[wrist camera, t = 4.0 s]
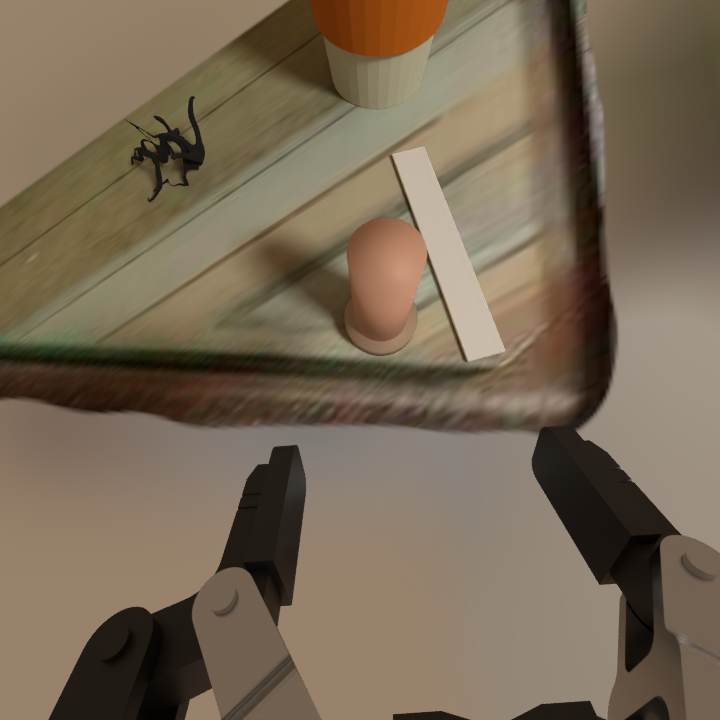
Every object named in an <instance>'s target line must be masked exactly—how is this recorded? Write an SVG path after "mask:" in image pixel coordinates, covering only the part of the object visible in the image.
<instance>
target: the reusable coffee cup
mask: <svg viewBox="0 0 720 720" xmlns="http://www.w3.org/2000/svg"><path fill="white" fill-rule="evenodd" d="M310 3H311V7H312V11H313V16H314V19H315V22H316V25H317V27H318V29H319V30H320V32H321V33H322V35H323V38H324V43H325V47H326V52H327V56H328V61H329V65H330V70H331V75H332V79H333V83H334V86H335V88H336V90H337V91H338V93H339V94H340V95H341V96H342V97H343V98H344V99H345V100H347V101H348V102H350V103H352V104H354V105H356V106H359V107H363V108H367V109H386V108H390V107H394V106H397V105H399V104H401V103H403V102H405V101H406V100H408V99H409V98H411V97H412V96H413V95H414V94H415V93H416V91H417V90H418V88H419V87H420V84H421V81H422V78H423V74H424V71H425V67H426V63H427V59H428V56H429V52H430V48H431V44H432V40H433V37H434V34H435V33H436V31H437V30H438V28H439V27H440V25H441V23H442V20H443V18H444V15H445V11H446V7H447V4H448V0H310Z"/></svg>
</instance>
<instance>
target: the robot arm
mask: <svg viewBox="0 0 720 720" xmlns="http://www.w3.org/2000/svg"><path fill="white" fill-rule="evenodd" d="M532 469H533V472H534V475H535V477H536V479H537V481H538V482H539V484H540V486H541V488H542V489H543V491H544V493H545V494H546V496H547V498H548V499H549V501H550V502H551V504H552V506H553V508H554V509H555V511H556V513H557V514H558V516H559V518H560V519H561V521H562V523H563V524H564V526H565V528H566V529H567V531H568V533H569V534H570V536H571V538H572V539H573V541H574V543H575V544H576V546H577V548H578V549H579V551H580V553H581V555H582V556H583V558H584V560H585V561H586V563H587V565H588V566H589V568H590V569H591V571H592V573H593V575H594V576H595V578H596V580H597V581H598V583H599V584H600V585H602V584H603V585H604V584H617V585H618V586H619V588H620V590H621V591H622V595H621V597H620V609H619V636H618V637H619V639H618V665H617V676H616V681H615V684H614V687H613V689H612V692H611V696H610V700H609V707H608V720H720V553H719V552H717V551H716V550H714V549H713V548H711V547H710V546H708V545H706V544H704V543H703V542H700V541H698V540H696V539H693V538H690V537H686V536H682V535H681V534H680V533H679V532H678V531H677V530H676V529H675V528H674V526H673V525H672V524H671V523H670V522H669V521H668V520H667V519H666V518H665V516H664V515H663V514H662V513H661V512H660V511H659V510H658V509H657V507H656V506H655V505H654V504H653V503H652V502H651V501H650V500H649V499H648V497H647V496H646V495H645V494H644V493H643V492H642V491H641V490H640V488H639V487H638V486H637V485H636V484H635V483H634V482H632V481H631V478H630V477H628V475H627V474H626V473H625V472H624V471H623V470H621V469H620V466H619V465H618V464H617V463H616V462H615V461H614V459H613V458H611V456H610V455H609V454H608V453H607V452H606V451H604V450H603V449H601V448H600V447H598V446H597V445H595V444H594V443H593V442H591V441H589V440H588V441H584V440H583V439H582V438H581V437H580V435H579V434H578V433H577V432H576V431H575V430H574V429H573V428H572V427H571V426H569V425H563V426H550V427H543V428H542V429H541V431H540V434H539V437H538V440H537V444H536V447H535V450H534V454H533V457H532ZM305 495H306V478H305V473H304V469H303V465H302V460H301V456H300V453H299V449H298V446H297V445H291V446H278V447H274V448H273V450H272V453H271V457H270V461H269V464H261V465H257V467H256V468H255V469H254V471H253V472H252V473H251V475H250V476H249V477H248V478H247V481H246V484H245V487H244V490H243V494H242V498H241V500H240V503H239V506H238V511H237V513H236V516H235V519H234V522H233V525H232V528H231V531H230V534H229V538H228V541H227V544H226V547H225V550H224V554H223V557H222V560H221V563H220V565H219V567H218V569H217V571H216V573H215V574H214V575H213V576H212V577H211V578H210V579H209V580H208V581H207V582H206V583H205V584H204V585H203V587H202V588H201V589H200V591H199V592H197V593H196V594H194V595H193V596H191V597H189V598H187V599H185V600H183V601H180V602H179V603H176V604H173V605H171V606H169V607H166V608H164V609H162V610H160V611H157V612H155V613H152V614H150V613H149V612H148V611H147V610H146V609H144V608H142V607H131V608H127V609H124V610H122V611H120V612H118V613H116V614H115V615H113V616H112V617H110V618H109V619H108V620H107V621H106V622H104V623H103V624H102V625H101V626H100V627H99V628H98V629H97V630H96V632H95V633H94V634H93V635H92V636H91V638H90V639H89V641H88V642H87V644H86V646H85V648H84V649H83V651H82V653H81V655H80V658H79V659H78V661H77V663H76V665H75V667H74V669H73V671H72V673H71V675H70V677H69V679H68V681H67V683H66V686H65V687H64V689H63V691H62V694H61V696H60V697H59V699H58V701H57V704H56V706H55V708H54V710H53V712H52V714H51V716H50V718H49V720H185V716H186V712H187V709H188V705H189V701H190V699H192V698H194V697H196V696H198V695H200V694H201V693H204V692H205V691H207V690H209V689H211V688H213V692H214V695H215V698H216V702H217V705H218V708H219V712H220V716H221V720H322V719H321V717H320V715H319V713H318V711H317V709H316V707H315V705H314V703H313V701H312V699H311V696H310V694H309V693H308V690H307V688H306V686H305V684H304V682H303V680H302V678H301V676H300V674H299V672H298V670H297V668H296V666H295V664H294V661H293V659H292V657H291V655H290V653H289V651H288V649H287V647H286V645H285V643H284V641H283V639H282V637H281V635H280V633H279V631H278V629H277V626H278V619H279V611H280V606H289V605H292V598H293V591H294V583H295V575H296V567H297V558H298V550H299V543H300V534H301V527H302V519H303V511H304V503H305ZM393 720H469V719H466V718H462V717H459V716H456V715H452V714H449V713H446V712H443V711H435V712H421V713H407V714H393ZM512 720H606V719H603V718H601V717H599V716H597V715H596V713H595V711H594V709H593V707H592V704H591V702H590V701H581V702H566V703H553V704H541V705H539V706H537V707H535V708H533V709H531V710H530V711H528V712H526V713H524V714H522V715H520V716H518V717H516V718H514V719H512Z"/></svg>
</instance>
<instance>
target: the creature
mask: <svg viewBox="0 0 720 720" xmlns="http://www.w3.org/2000/svg"><path fill="white" fill-rule="evenodd" d="M194 98H195V97H194V96H192V97H190V99H189V105H188V115H189V119H190V122H191V124H192V127H193V129H194V132H195V136H196V144H195V145H192V144H190V143H189V142H188V141H187V140H185V139H184V137H182V136H180V135H179V134H180V133H179V129H178V128H176V129H174V130H171V129H170V128H169V126H168V125H167V124H166V122H165V121H164V120H163V119H162V118H161V117H159V116H154V118H155V119H156V120H158V121H159V122H161V123H162V124H164V126H165V127H166V129H167V130H168V132H167V133H161V134H158V135H155V136H153V135H151V134H149V133H148V132H146V131H145V132H146V133H148V134H149V135H150V136H152V137H154V138H159V140H160V145H156V144H154V143H153V142H152V141H151V140H150V139H149V138H148V139H149V140H150V141H151V143H152V144H153V145H154V146H155V148H156V150H157V153H158V155H156V154H154V153H153V152H151V151H149V150H147V148H146V146H145V145H144V142H143V141H148V140H146V139H142V140H141V147H139V148H135V149H134V156H132V157H131V161H132V165H133V159H136V160H138V161H141V162H143V160H144V158H143V155H144V156H146V157H149V158H151V159H152V161H153V162H154V164H155V169H156V178H157V187H156V189H155V190H156V192H155V194H154V196H153V198H151V199H150V200H149V198H148V201H149V202H151V201H152V200H154V199H155V197H156V196H157V195H158V193H159V192H160V190H161V188H162V185H163V184H164V183H166V182H168V183H169V181H168V179H166V180H165V181H164V182H163V183H162V175H161V171H160V166H159V162H161V163H167V162H168V155H170V154H171V150H172V148H171V146H170V145H169V144H168V143H167V141H173V142H175V143H177V144H178V146H179V147H180V148H181V151H182V153H177V154H174V152H173V150H172V153H173V155H171V158H172V159H174V160H175V158H183V164H184V174H183V179H184V182H185V183H184V184H181V183H179V184H177V185H182V186H188V185H189V184H188V181H187V179H186V173H187V171H188V170H189V169H192V168H195V169H198V170H199V166H201V165H202V163H203V160H204V157H205V150H204V146H203V143H202V140H201V135H200V131H199V128H198V125H197V123H196V120H195V117H194V113H193V99H194ZM126 121H127V120H126ZM128 122H129V121H128ZM129 123H131V122H129ZM131 124H132V123H131ZM132 125H133V126H135V127H136V128H137V129H138V130H139V127H138V126H136V125H134V124H132ZM140 129H141V128H140ZM142 130H143V129H142ZM139 131H140V130H139ZM143 131H144V130H143ZM140 132H141V131H140ZM141 133H142V132H141ZM150 141H148V142H150ZM170 149H171V150H170ZM135 150H137V151H138V155H139V157H138V156H136V152H135ZM158 161H159V162H158ZM169 184H170V183H169ZM170 185H171V184H170ZM177 185H172V186H177ZM155 190H154V191H155Z"/></svg>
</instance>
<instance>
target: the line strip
mask: <svg viewBox="0 0 720 720" xmlns="http://www.w3.org/2000/svg"><path fill="white" fill-rule="evenodd" d="M392 158H393V161H394V164H395V166H396V169H397V172H398V175H399V177H400V180H401V183H402V186H403V188H404V191H405V194H406V197H407V199H408V202H409V205H410V207H411V210H412V213H413V216H414V218H415V221H416V224H417V227H418V229H419V232H420V234H421V235H422V237H423V239H424V241H425V244H426V248H427V254H428V257H429V259H430V262H431V265H432V268H433V270H434V273H435V276H436V279H437V281H438V284H439V287H440V290H441V292H442V295H443V298H444V300H445V303H446V306H447V309H448V311H449V314H450V317H451V320H452V322H453V325H454V328H455V331H456V333H457V336H458V339H459V342H460V344H461V347H462V350H463V352H464V355H465V358H466V361H467V362H469V361H473V360H477V359H480V358H484V357H487V356H491V355H495V354H498V353H502V352H505V348H504V346H503V343H502V341H501V338H500V336H499V333H498V331H497V328H496V326H495V323H494V321H493V318H492V316H491V313H490V311H489V308H488V306H487V303H486V301H485V298H484V296H483V293H482V291H481V288H480V286H479V283H478V281H477V278H476V275H475V273H474V270H473V268H472V265H471V263H470V260H469V258H468V255H467V253H466V250H465V248H464V245H463V243H462V240H461V238H460V235H459V233H458V230H457V228H456V225H455V223H454V220H453V218H452V215H451V213H450V210H449V208H448V205H447V203H446V200H445V198H444V195H443V193H442V190H441V188H440V185H439V183H438V180H437V178H436V175H435V173H434V170H433V168H432V165H431V163H430V160H429V157H428V155H427V152H426V150H425V147H424V146H423V147H419V148H415V149H411V150H407V151H403V152H399V153H395V154H392Z"/></svg>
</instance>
